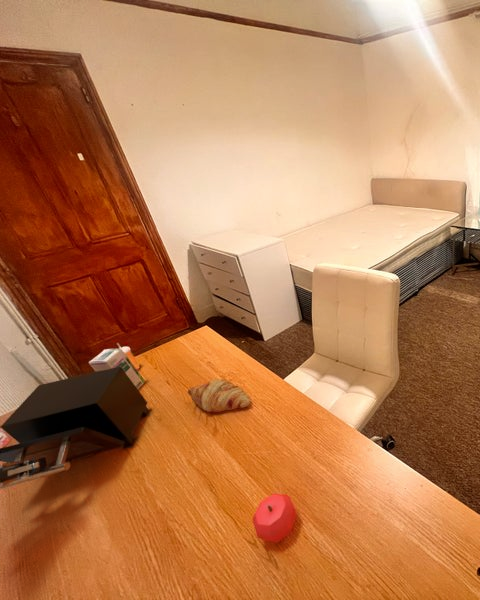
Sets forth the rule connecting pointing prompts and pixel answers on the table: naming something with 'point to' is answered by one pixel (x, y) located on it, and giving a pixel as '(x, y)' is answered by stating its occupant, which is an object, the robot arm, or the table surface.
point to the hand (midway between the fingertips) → (41, 463)
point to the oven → (80, 407)
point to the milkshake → (129, 355)
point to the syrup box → (117, 364)
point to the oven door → (58, 450)
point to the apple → (274, 518)
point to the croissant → (219, 396)
